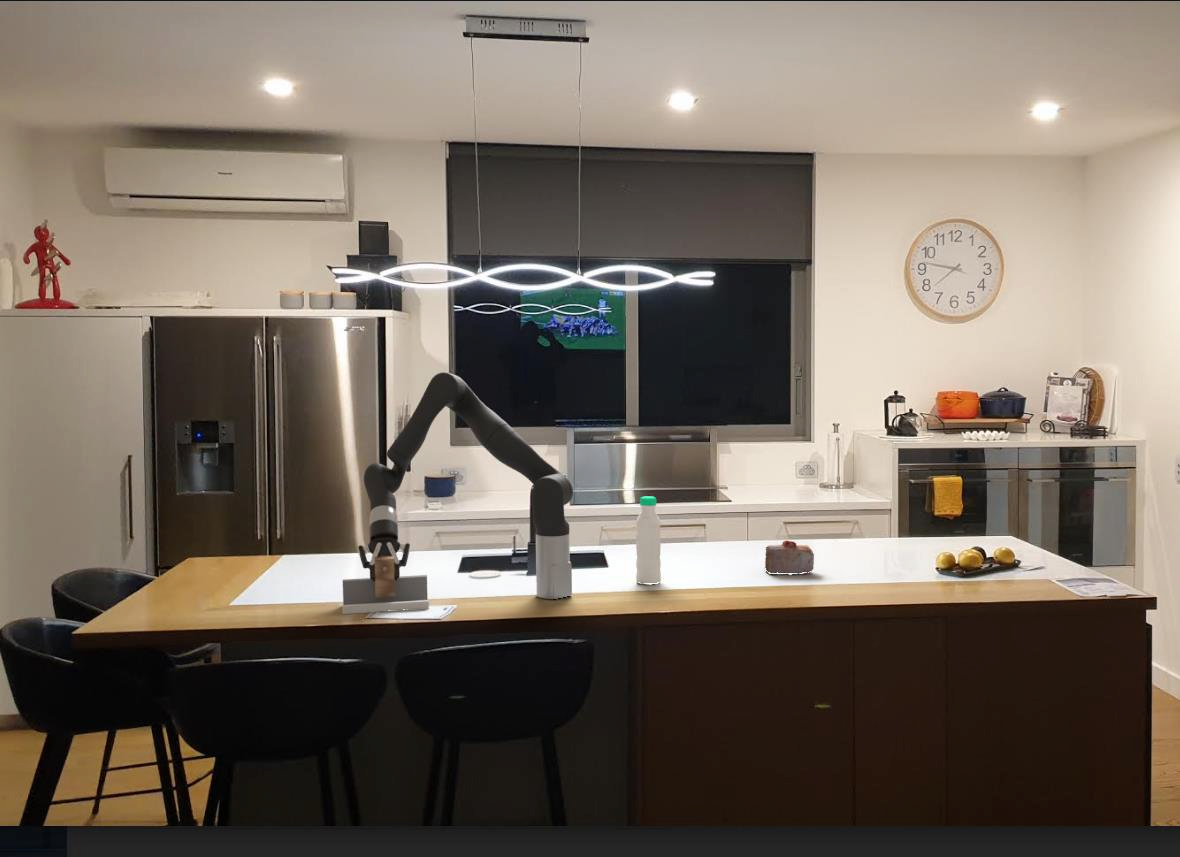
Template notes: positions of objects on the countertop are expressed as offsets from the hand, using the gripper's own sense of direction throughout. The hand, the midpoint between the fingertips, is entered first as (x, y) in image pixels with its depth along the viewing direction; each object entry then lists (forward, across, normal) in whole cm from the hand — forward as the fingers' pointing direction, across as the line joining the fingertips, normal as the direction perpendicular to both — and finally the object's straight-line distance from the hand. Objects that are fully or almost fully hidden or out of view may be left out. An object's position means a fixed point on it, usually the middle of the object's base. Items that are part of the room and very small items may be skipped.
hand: (385, 579), depth 259 cm
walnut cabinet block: (+2, 0, +5) cm, 5 cm away
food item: (-3, +119, +14) cm, 120 cm away
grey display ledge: (+5, 0, +7) cm, 8 cm away
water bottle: (-2, +74, +13) cm, 76 cm away
